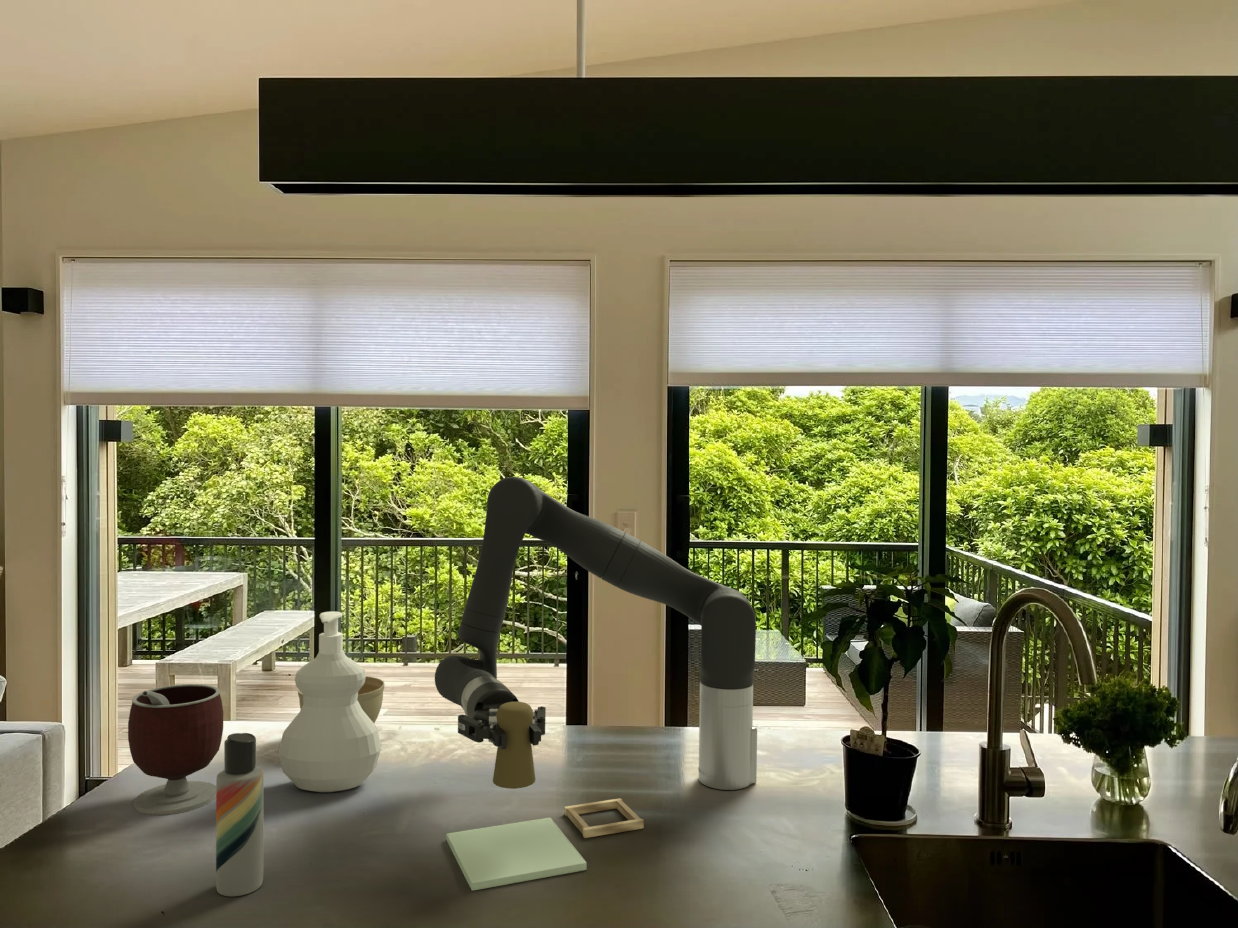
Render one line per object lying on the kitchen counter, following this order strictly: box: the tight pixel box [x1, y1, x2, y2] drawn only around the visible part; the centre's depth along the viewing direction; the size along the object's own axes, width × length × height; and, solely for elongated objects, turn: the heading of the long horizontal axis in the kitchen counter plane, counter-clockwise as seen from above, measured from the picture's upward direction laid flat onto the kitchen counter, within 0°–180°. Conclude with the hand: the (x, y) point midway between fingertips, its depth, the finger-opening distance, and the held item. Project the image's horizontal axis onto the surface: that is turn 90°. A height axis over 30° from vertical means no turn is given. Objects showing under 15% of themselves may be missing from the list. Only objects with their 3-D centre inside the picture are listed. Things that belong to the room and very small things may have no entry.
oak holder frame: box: [563, 798, 645, 839], centre depth 140 cm, size 10×9×1 cm
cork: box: [492, 701, 536, 789], centre depth 128 cm, size 6×6×11 cm
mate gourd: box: [127, 683, 224, 816], centre depth 145 cm, size 16×14×20 cm
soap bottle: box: [278, 611, 382, 793], centre depth 153 cm, size 17×12×29 cm
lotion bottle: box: [215, 732, 265, 897], centre depth 118 cm, size 6×6×20 cm
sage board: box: [446, 817, 588, 891], centre depth 128 cm, size 16×16×1 cm
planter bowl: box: [297, 675, 385, 724], centre depth 176 cm, size 16×16×11 cm
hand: (520, 740), depth 125 cm, fingers closed on cork, 4 cm apart
